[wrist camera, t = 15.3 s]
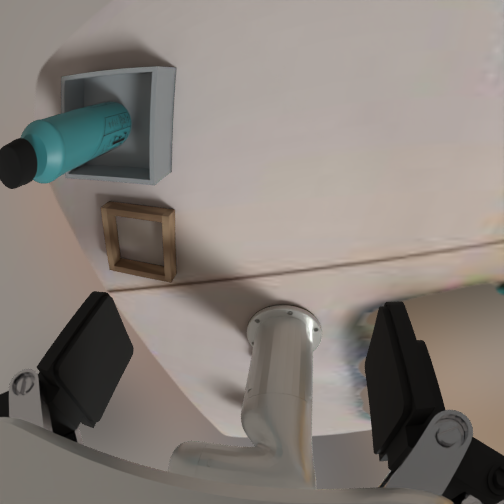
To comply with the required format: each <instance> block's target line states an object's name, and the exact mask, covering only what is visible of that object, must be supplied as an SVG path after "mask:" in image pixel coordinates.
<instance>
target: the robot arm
mask: <svg viewBox="0 0 504 504" xmlns="http://www.w3.org/2000/svg"><path fill="white" fill-rule="evenodd" d="M321 338H322V330H321V325H320V323H319V321H318V320H317V319H316V317H315V316H313V315H312V314H311V313H310V312H308V311H306V310H304V309H302V308H299V307H295V306H290V305H278V306H272V307H268V308H265V309H263V310H261V311H259V312H258V313H256V314H255V315H254V316H253V317H252V318H251V320H250V321H249V324H248V327H247V339H248V341H249V343H250V345H251V346H252V347H253V351H252V357H251V362H250V368H249V373H248V378H247V384H246V389H245V394H244V400H243V405H242V411H241V423H242V427H243V429H244V431H245V433H246V435H247V436H248V438H249V439H250V440H251V442H252V443H253V444H254V446H255V447H237V446H228V445H221V444H214V443H207V442H199V441H188V442H184V443H182V444H180V445H179V446H178V447H177V448H176V449H175V450H174V452H173V454H172V456H171V459H170V463H169V467H168V472H167V471H162V470H158V469H155V468H151V467H147V466H144V465H140V464H137V463H133V462H130V461H127V460H124V459H120V458H117V457H114V456H111V455H108V454H106V453H103V452H100V451H97V450H95V449H92V448H89V447H87V446H84V445H83V441H82V437H81V433H80V429H79V424H80V422H81V423H82V424H84V425H87V426H89V427H92V428H94V426H95V424H96V422H98V421H100V419H101V417H102V415H103V413H104V411H105V409H106V407H107V405H108V403H109V400H110V398H111V397H112V395H113V392H114V390H115V388H116V386H117V384H118V382H119V380H120V378H121V376H122V374H123V373H124V371H125V369H126V367H127V365H128V363H129V361H130V359H131V357H132V355H133V345H132V343H131V341H130V339H129V336H128V334H127V332H126V330H125V327H124V325H123V322H122V320H121V318H120V315H119V313H118V310H117V308H116V305H115V303H114V300H113V298H112V297H110V295H109V294H108V293H106V292H96V291H94V292H92V293H91V294H90V296H89V297H88V298H87V299H86V300H85V302H84V303H83V304H82V305H81V307H80V308H79V309H78V311H77V312H76V313H75V315H74V316H73V317H72V319H71V320H70V321H69V322H68V324H67V325H66V327H65V328H64V329H63V330H62V332H61V333H60V335H59V336H58V337H57V339H56V340H55V341H54V343H53V344H52V346H51V347H50V349H49V350H48V351H47V353H46V354H45V356H44V357H43V358H42V360H41V361H40V363H39V365H38V366H37V368H38V370H39V371H40V372H39V374H37V373H36V372H35V371H34V370H32V369H25V370H22V371H20V372H18V373H17V374H16V375H15V376H14V377H13V378H12V380H11V382H10V386H9V391H7V392H5V393H3V394H0V504H504V456H503V455H502V454H500V453H498V452H497V451H495V450H493V449H492V448H490V447H488V446H487V445H485V444H483V443H482V442H480V441H479V440H477V439H475V438H474V437H472V436H473V427H472V425H471V422H470V420H469V419H468V418H467V416H465V415H464V414H462V413H461V412H459V411H456V410H445V407H444V403H443V399H442V396H441V392H440V388H439V385H438V381H437V378H436V375H435V372H434V368H433V365H432V362H431V359H430V356H429V353H428V350H427V347H426V344H425V342H424V341H422V340H416V337H415V334H414V331H413V328H412V325H411V322H410V319H409V317H408V313H407V311H406V308H405V305H404V303H403V302H386V303H385V305H384V306H382V307H379V310H378V315H377V318H376V323H375V327H374V331H373V335H372V338H371V342H370V346H369V350H368V353H367V357H366V361H365V373H366V381H367V388H368V397H369V405H370V415H371V425H372V436H373V448H374V453H375V454H379V460H380V461H388V468H389V469H390V470H391V471H390V472H389V474H388V475H387V476H386V477H385V479H384V480H383V481H382V482H381V484H380V485H379V486H378V487H377V488H349V489H316V476H315V468H314V462H313V453H312V392H313V351H315V350H316V348H317V347H318V346H319V344H320V342H321Z"/></svg>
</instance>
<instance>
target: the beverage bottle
mask: <svg viewBox="0 0 504 504" xmlns="http://www.w3.org/2000/svg"><path fill="white" fill-rule="evenodd" d="M104 102H105V101H104ZM104 102H102V103H100V102H99V103H100V104H96V103H95V105H91V106H86V107H83V108H79V109H75V110H72V109H71V110H72V111H69V112H66V113H62V114H58V115H55V116H52V117H48V118H45V119H42V120H36V121H33V122H32V123H30V124H29V125H28V126H27V127H26V128H25V130H24V131H23V133H22V135H21V138H19V139H16V140H14V141H12V142H11V143H9V144H7V145H5V146H3V147H2V148H1V149H0V180H1V181H2V183H3V184H4V185H5V186H6V187H8V188H10V189H14V188H17V187H20V186H22V185H25V184H27V183H29V182H30V181H32V180H34V181H36V182H39V183H50V182H52V181H54V180H55V179H56V178H58V177H59V176H61V175H63V174H64V173H66V172H68V171H70V170H72V169H73V168H76V167H77V168H79V167H78V166H80V165H82V164H84V163H85V162H87V161H89V160H91V159H93V158H94V159H95V157H97V156H98V157H99V156H101V155H103V154H104V153H105V152H106V153H108V152H110V151H112V150H113V148H114V149H115V147H116V148H117V146H120V145H122V144H123V143H124V141H125V140H127V137H128V136H129V134H130V131H131V124H132V123H131V117H130V114H129V112H128V110H127V109H126V108H125V107H124V106H123V105H121V104H119V103H117V102H116V101H115V102H109V101H108V102H105V103H104ZM111 149H112V150H111ZM109 150H110V151H109ZM107 151H108V152H107ZM106 153H105V154H106Z"/></svg>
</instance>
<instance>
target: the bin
mask: <svg viewBox="0 0 504 504" xmlns="http://www.w3.org/2000/svg"><path fill="white" fill-rule="evenodd" d="M175 78H176V68H174V67H159V66H155V67H137V68H124V69H113V70H104V71H96V72H89V73H82V74H75V75H69V76H63V77H61V114H62V113H66V112H69V111H72V110H75V109H79V108H83V107H86V106H91V105H95V103H96V104H100V103H102V102H104V101H105V102H108V101H109V102H115V101H116V102H117V103H119V104H121V105H123V106H124V107H125V108H126V109H127V110H128V112H129V114H130V117H131V123H132V124H131V131H130V134H129V136H128V137H127V140H125V141H124V143H123V144H122V145H120V146H117V148H116V147H115V149H114V148H113V150H112V149H111V150H112V151H110V150H109V151H110V152H108V151H107V152H108V153H106V152H105V153H106V154H105V153H104V154H103V155H101V156H99V157H98V156H97V157H95V159H94V158H93V159H91V160H89V161H87V162H85V163H84V164H82V165H80V166H78V167H79V168H77V167H76V168H73V169H72V170H70V171H68V172H66V173H65V177H66V178H73V179H87V180H101V181H113V182H125V183H136V184H146V185H156V184H157V183H158V182H159V181H160V180H162V179H163V178H164V177H166V176H167V175H168V174H169V173H171V172H172V132H173V110H174V93H175ZM99 102H100V103H99ZM105 102H104V103H105ZM71 109H72V110H71Z"/></svg>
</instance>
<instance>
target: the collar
mask: <svg viewBox="0 0 504 504" xmlns="http://www.w3.org/2000/svg"><path fill="white" fill-rule="evenodd" d="M101 214H102V222H103V230H104V237H105V244H106V250H107V256H108V262H109V268H110V270H113V271H117V272H122V273H127V274H131V275H136V276H141V277H146V278H151V279H156V280H161V281H166V282H172V281H173V279H174V277H175V275H176V248H175V210H174V209H167V208H159V207H151V206H143V205H135V204H127V203H119V202H110V201H109V202H107V203H106V204H105V205H104V206H102V207H101ZM116 216H121V217H128V218H135V219H142V220H149V221H156V222H162V235H163V255H164V266H160V265H155V264H149V263H144V262H139V261H134V260H128V259H123V258H121V256H120V249H119V241H118V233H117V224H116Z"/></svg>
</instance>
